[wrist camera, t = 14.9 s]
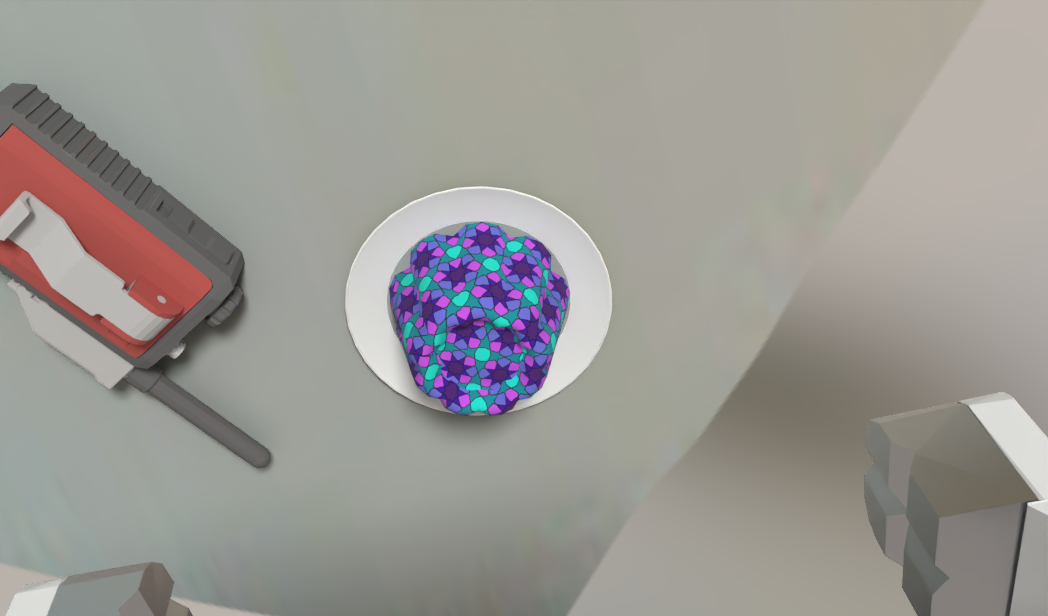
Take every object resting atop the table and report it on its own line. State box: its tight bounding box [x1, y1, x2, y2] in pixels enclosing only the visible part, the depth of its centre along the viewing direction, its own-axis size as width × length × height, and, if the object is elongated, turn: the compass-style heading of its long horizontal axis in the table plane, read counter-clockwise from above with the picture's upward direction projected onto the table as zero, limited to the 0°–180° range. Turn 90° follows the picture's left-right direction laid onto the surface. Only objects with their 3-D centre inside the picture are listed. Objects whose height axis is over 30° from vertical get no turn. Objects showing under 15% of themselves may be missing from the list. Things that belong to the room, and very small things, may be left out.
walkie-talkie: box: [0, 83, 270, 468], centre depth 41 cm, size 9×4×20 cm
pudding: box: [345, 186, 612, 416], centre depth 42 cm, size 12×12×5 cm
